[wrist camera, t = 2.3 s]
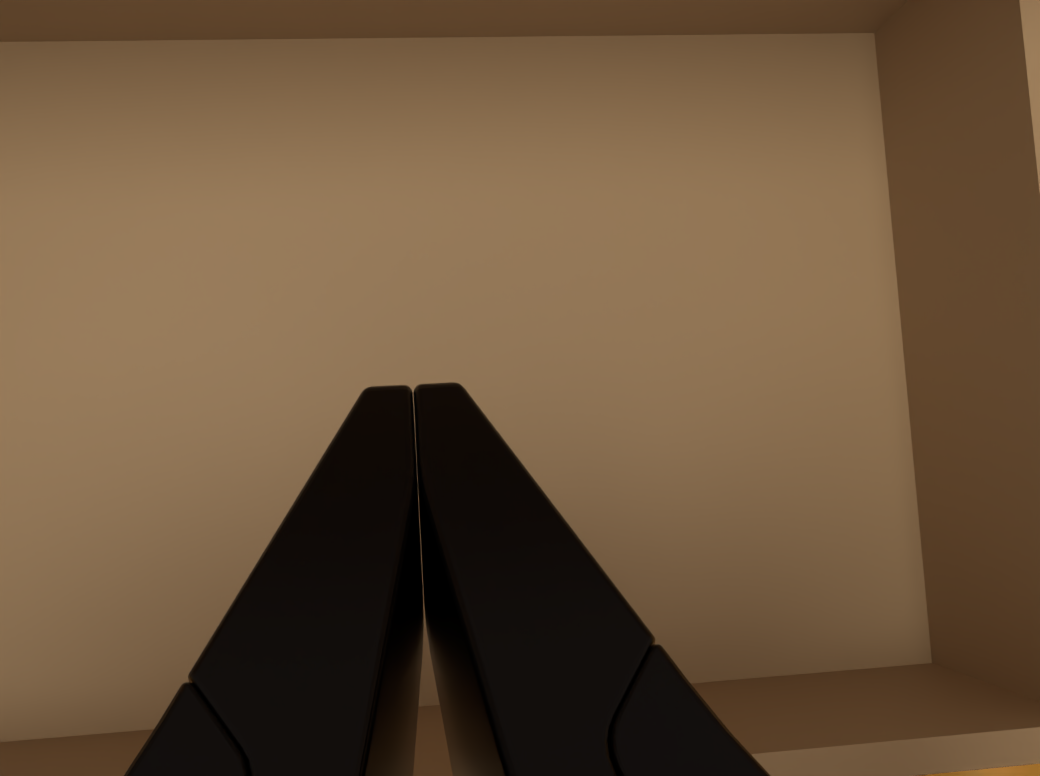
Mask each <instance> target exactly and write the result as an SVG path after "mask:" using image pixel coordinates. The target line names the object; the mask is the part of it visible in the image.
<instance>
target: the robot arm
mask: <svg viewBox="0 0 1040 776" xmlns="http://www.w3.org/2000/svg"><path fill="white" fill-rule="evenodd" d="M413 395H414V406H413ZM414 416H415V425H414ZM415 437H416V443H415ZM416 457H417V461H416ZM417 477H418V481H417ZM418 496H419V502H418ZM419 515H420V522H419ZM420 535H421V543H420ZM421 554H422V563H421ZM422 573H423V584H422ZM423 592H424V608H425V619H426V629H427V636H428V642H429V649H430V655H431V660H432V666H433V671H434V677H435V682H436V687H437V693H438V698H439V704H440V709H441V714H442V720H443V725H444V731H445V736H446V741H447V747H448V752H449V758H450V763H451V768H452V774H453V776H771V775H770V774H769V773H768V772H767V771H766V770H765V769H764V768H763V767H762V766H761V765H760V763H759V762H758V761H757V760H756V759H755V758H754V757H753V756H752V755H751V754H750V753H749V752H748V750H747V749H746V748H745V747H744V746H743V745H742V744H741V743H740V742H739V741H738V740H737V738H736V737H735V736H734V735H733V734H732V733H731V732H730V731H729V729H728V728H727V727H726V726H725V725H724V723H723V722H722V721H721V720H720V718H719V717H718V716H717V715H716V714H715V712H714V711H713V710H712V709H711V707H710V706H709V705H708V704H707V703H706V701H705V700H704V699H703V698H702V696H701V695H700V694H699V693H698V692H697V690H696V689H695V688H694V687H693V685H692V684H691V683H690V682H689V681H688V679H687V678H686V677H685V675H684V674H683V673H682V671H681V670H680V669H679V667H678V666H677V665H676V663H675V662H674V661H673V659H672V658H671V657H670V656H669V654H668V653H667V652H666V650H665V649H664V648H663V646H662V645H660V644H655V637H654V635H653V634H652V633H651V631H650V630H649V629H648V627H647V626H646V625H645V623H644V622H643V621H642V620H641V618H640V617H639V616H638V614H637V613H636V612H635V610H634V609H633V608H632V606H631V605H630V604H629V603H628V601H627V600H626V599H625V597H624V596H623V595H622V593H621V592H620V591H619V589H618V588H617V587H616V586H615V584H614V583H613V582H612V580H611V579H610V578H609V576H608V575H607V574H606V572H605V571H604V570H603V569H602V567H601V566H600V565H599V563H598V562H597V561H596V559H595V558H594V557H593V555H592V554H591V553H590V552H589V550H588V549H587V548H586V546H585V545H584V544H583V542H582V541H581V540H580V538H579V537H578V536H577V534H576V533H575V532H574V531H573V529H572V528H571V527H570V525H569V524H568V523H567V521H566V520H565V519H564V517H563V516H562V515H561V514H560V512H559V511H558V510H557V508H556V507H555V506H554V504H553V503H552V502H551V500H550V499H549V498H548V497H547V495H546V494H545V493H544V491H543V490H542V489H541V487H540V486H539V485H538V483H537V482H536V481H535V480H534V478H533V477H532V476H531V474H530V473H529V472H528V470H527V469H526V468H525V466H524V465H523V464H522V463H521V461H520V460H519V459H518V457H517V456H516V455H515V453H514V452H513V451H512V449H511V448H510V447H509V446H508V444H507V443H506V442H505V440H504V439H503V438H502V436H501V435H500V434H499V432H498V431H497V430H496V429H495V427H494V426H493V425H492V423H491V422H490V421H489V419H488V418H487V417H486V415H485V414H484V413H483V411H482V410H481V409H480V408H479V406H478V405H477V404H476V402H475V401H474V400H473V398H472V397H471V396H470V394H469V393H468V392H467V391H466V389H465V388H464V387H463V386H462V385H461V384H459V383H455V382H448V383H428V384H419V385H417V386H416V387H415V389H414V392H412V389H411V388H410V387H409V386H407V385H388V386H371V387H367V388H365V389H364V390H363V391H362V393H361V394H360V395H359V397H358V399H357V400H356V402H355V404H354V405H353V407H352V408H351V410H350V412H349V413H348V415H347V417H346V418H345V420H344V421H343V423H342V425H341V426H340V428H339V430H338V431H337V433H336V434H335V436H334V438H333V439H332V441H331V443H330V444H329V446H328V447H327V449H326V451H325V452H324V454H323V456H322V457H321V459H320V461H319V462H318V464H317V465H316V467H315V469H314V470H313V472H312V474H311V475H310V477H309V478H308V480H307V482H306V483H305V485H304V487H303V488H302V490H301V491H300V493H299V495H298V496H297V498H296V500H295V501H294V503H293V504H292V506H291V508H290V509H289V511H288V513H287V514H286V516H285V517H284V519H283V521H282V522H281V524H280V526H279V527H278V529H277V531H276V532H275V534H274V535H273V537H272V539H271V540H270V542H269V544H268V545H267V547H266V548H265V550H264V552H263V553H262V555H261V557H260V558H259V560H258V561H257V563H256V565H255V566H254V568H253V570H252V571H251V573H250V574H249V576H248V578H247V579H246V581H245V583H244V584H243V586H242V588H241V589H240V591H239V592H238V594H237V596H236V597H235V599H234V601H233V602H232V604H231V605H230V607H229V609H228V610H227V612H226V614H225V615H224V617H223V618H222V620H221V622H220V623H219V625H218V627H217V628H216V630H215V631H214V633H213V635H212V636H211V638H210V640H209V641H208V643H207V644H206V646H205V648H204V649H203V651H202V653H201V654H200V656H199V658H198V659H197V661H196V662H195V664H194V666H193V667H192V669H191V671H190V672H189V674H188V680H189V682H185V683H183V684H182V685H181V686H180V688H179V689H178V691H177V692H176V694H175V696H174V697H173V699H172V701H171V702H170V704H169V706H168V707H167V709H166V710H165V712H164V714H163V715H162V717H161V719H160V720H159V722H158V724H157V725H156V727H155V728H154V730H153V731H152V733H151V734H150V736H149V737H148V739H147V740H146V742H145V743H144V745H143V747H142V748H141V750H140V751H139V753H138V754H137V756H136V757H135V759H134V760H133V762H132V763H131V765H130V766H129V768H128V769H127V771H126V772H125V774H124V775H123V776H413V769H414V757H415V744H416V731H417V718H418V706H419V693H420V680H421V668H422V655H423V635H424V608H423Z"/></svg>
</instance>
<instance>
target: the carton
mask: <svg viewBox="0 0 1040 776" xmlns="http://www.w3.org/2000/svg"><path fill="white" fill-rule="evenodd" d="M448 382H455V383H459V384H461V385H462V386H463V387H464V388H465V389H466V391H467V392H468V393H469V394H470V396H471V397H472V398H473V400H474V401H475V402H476V404H477V405H478V406H479V408H480V409H481V410H482V411H483V413H484V414H485V415H486V417H487V418H488V419H489V421H490V422H491V423H492V425H493V426H494V427H495V429H496V430H497V431H498V432H499V434H500V435H501V436H502V438H503V439H504V440H505V442H506V443H507V444H508V446H509V447H510V448H511V449H512V451H513V452H514V453H515V455H516V456H517V457H518V459H519V460H520V461H521V463H522V464H523V465H524V466H525V468H526V469H527V470H528V472H529V473H530V474H531V476H532V477H533V478H534V480H535V481H536V482H537V483H538V485H539V486H540V487H541V489H542V490H543V491H544V493H545V494H546V495H547V497H548V498H549V499H550V500H551V502H552V503H553V504H554V506H555V507H556V508H557V510H558V511H559V512H560V514H561V515H562V516H563V517H564V519H565V520H566V521H567V523H568V524H569V525H570V527H571V528H572V529H573V531H574V532H575V533H576V534H577V536H578V537H579V538H580V540H581V541H582V542H583V544H584V545H585V546H586V548H587V549H588V550H589V552H590V553H591V554H592V555H593V557H594V558H595V559H596V561H597V562H598V563H599V565H600V566H601V567H602V569H603V570H604V571H605V572H606V574H607V575H608V576H609V578H610V579H611V580H612V582H613V583H614V584H615V586H616V587H617V588H618V589H619V591H620V592H621V593H622V595H623V596H624V597H625V599H626V600H627V601H628V603H629V604H630V605H631V606H632V608H633V609H634V610H635V612H636V613H637V614H638V616H639V617H640V618H641V620H642V621H643V622H644V623H645V625H646V626H647V627H648V629H649V630H650V631H651V633H652V634H653V635H654V637H655V644H660V645H662V646H663V648H664V649H665V650H666V652H667V653H668V654H669V656H670V657H671V658H672V659H673V661H674V662H675V663H676V665H677V666H678V667H679V669H680V670H681V671H682V673H683V674H684V675H685V677H686V678H687V679H688V681H689V682H690V683H691V684H692V685H693V687H694V688H695V689H696V690H697V692H698V693H699V694H700V695H701V696H702V698H703V699H704V700H705V701H706V703H707V704H708V705H709V706H710V707H711V709H712V710H713V711H714V712H715V714H716V715H717V716H718V717H719V718H720V720H721V721H722V722H723V723H724V725H725V726H726V727H727V728H728V729H729V731H730V732H731V733H732V734H733V735H734V736H735V737H736V738H737V740H738V741H739V742H740V743H741V744H742V745H743V746H744V747H745V748H746V749H747V750H748V752H749V753H750V754H751V755H752V756H753V757H754V758H755V759H756V760H757V761H758V762H759V763H760V765H761V766H762V767H763V768H764V769H765V770H766V771H767V772H768V773H769V774H770V775H771V776H917V775H927V774H937V773H947V772H957V771H968V770H978V769H988V768H998V767H1008V766H1019V765H1029V764H1039V763H1040V0H0V776H123V775H124V774H125V772H126V771H127V769H128V768H129V766H130V765H131V763H132V762H133V760H134V759H135V757H136V756H137V754H138V753H139V751H140V750H141V748H142V747H143V745H144V743H145V742H146V740H147V739H148V737H149V736H150V734H151V733H152V731H153V730H154V728H155V727H156V725H157V724H158V722H159V720H160V719H161V717H162V715H163V714H164V712H165V710H166V709H167V707H168V706H169V704H170V702H171V701H172V699H173V697H174V696H175V694H176V692H177V691H178V689H179V688H180V686H181V685H182V684H183V683H185V682H189V680H188V674H189V672H190V671H191V669H192V667H193V666H194V664H195V662H196V661H197V659H198V658H199V656H200V654H201V653H202V651H203V649H204V648H205V646H206V644H207V643H208V641H209V640H210V638H211V636H212V635H213V633H214V631H215V630H216V628H217V627H218V625H219V623H220V622H221V620H222V618H223V617H224V615H225V614H226V612H227V610H228V609H229V607H230V605H231V604H232V602H233V601H234V599H235V597H236V596H237V594H238V592H239V591H240V589H241V588H242V586H243V584H244V583H245V581H246V579H247V578H248V576H249V574H250V573H251V571H252V570H253V568H254V566H255V565H256V563H257V561H258V560H259V558H260V557H261V555H262V553H263V552H264V550H265V548H266V547H267V545H268V544H269V542H270V540H271V539H272V537H273V535H274V534H275V532H276V531H277V529H278V527H279V526H280V524H281V522H282V521H283V519H284V517H285V516H286V514H287V513H288V511H289V509H290V508H291V506H292V504H293V503H294V501H295V500H296V498H297V496H298V495H299V493H300V491H301V490H302V488H303V487H304V485H305V483H306V482H307V480H308V478H309V477H310V475H311V474H312V472H313V470H314V469H315V467H316V465H317V464H318V462H319V461H320V459H321V457H322V456H323V454H324V452H325V451H326V449H327V447H328V446H329V444H330V443H331V441H332V439H333V438H334V436H335V434H336V433H337V431H338V430H339V428H340V426H341V425H342V423H343V421H344V420H345V418H346V417H347V415H348V413H349V412H350V410H351V408H352V407H353V405H354V404H355V402H356V400H357V399H358V397H359V395H360V394H361V393H362V391H363V390H364V389H365V388H367V387H371V386H388V385H407V386H409V387H410V388H411V389H412V392H414V389H415V387H416V386H417V385H419V384H428V383H448ZM413 406H414V395H413ZM414 425H415V416H414ZM415 443H416V437H415ZM416 461H417V457H416ZM417 481H418V477H417ZM418 502H419V496H418ZM419 522H420V515H419ZM420 543H421V535H420ZM421 563H422V554H421ZM422 584H423V573H422ZM423 608H424V592H423ZM413 776H453V774H452V768H451V763H450V758H449V752H448V747H447V741H446V736H445V731H444V725H443V720H442V714H441V709H440V704H439V698H438V693H437V687H436V682H435V677H434V671H433V666H432V660H431V655H430V649H429V642H428V636H427V629H426V619H425V608H424V635H423V655H422V668H421V680H420V693H419V706H418V718H417V731H416V744H415V757H414V769H413Z"/></svg>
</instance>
